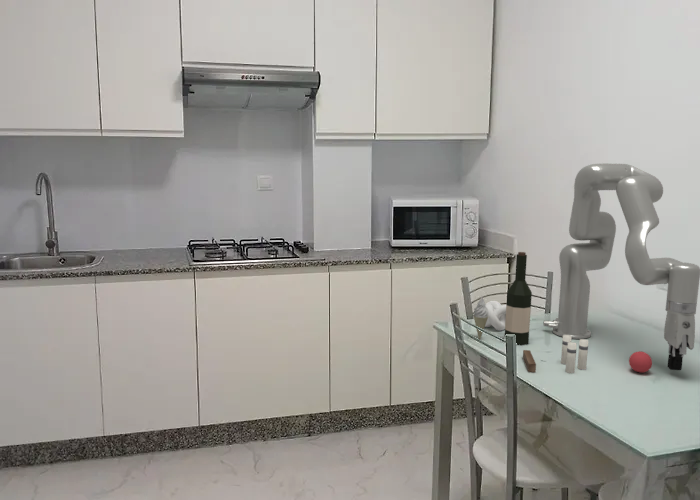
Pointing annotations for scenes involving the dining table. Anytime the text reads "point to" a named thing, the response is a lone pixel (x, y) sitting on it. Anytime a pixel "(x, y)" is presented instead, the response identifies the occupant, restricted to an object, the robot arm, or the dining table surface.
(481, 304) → the ice cream cone
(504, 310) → the white knot
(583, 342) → the front pin
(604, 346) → the dining table surface
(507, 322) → the wine bottle
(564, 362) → the back pin far
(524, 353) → the back wall
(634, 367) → the ball
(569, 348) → the back pin near
